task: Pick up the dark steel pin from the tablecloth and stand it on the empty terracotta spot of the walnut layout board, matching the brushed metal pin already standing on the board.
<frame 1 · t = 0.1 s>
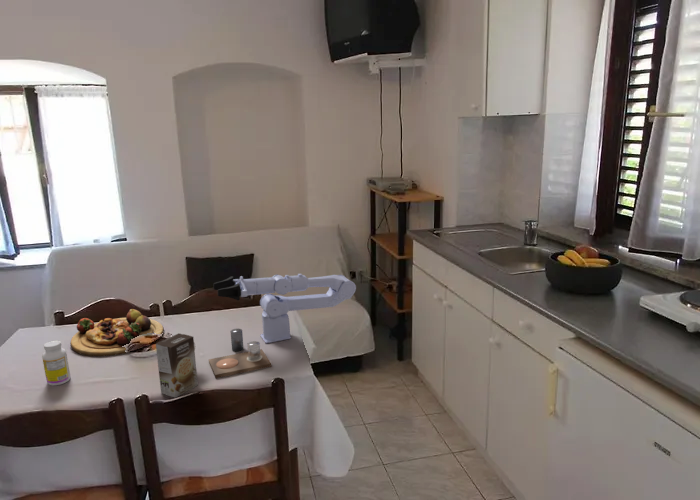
hand: (215, 289, 188), 22 cm above the table, tool horizontal, fingers open, 7 cm apart
wooden plate with food: (118, 339, 204), on the table
white ovoid with nub: (188, 370, 178), on the table
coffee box: (180, 389, 166), on the table
supplement bottle: (59, 381, 172), on the table
layout board: (239, 364, 180), on the table
steel pin: (237, 349, 192), on the table
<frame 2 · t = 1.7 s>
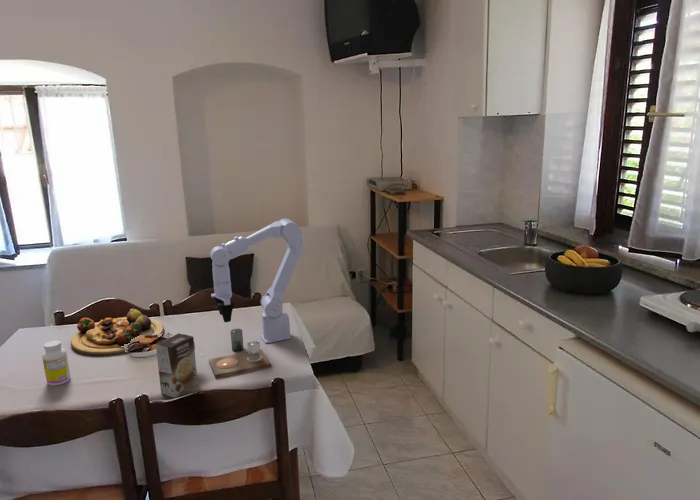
hand: (225, 317, 193), 10 cm above the table, tool pointing down, fingers open, 7 cm apart
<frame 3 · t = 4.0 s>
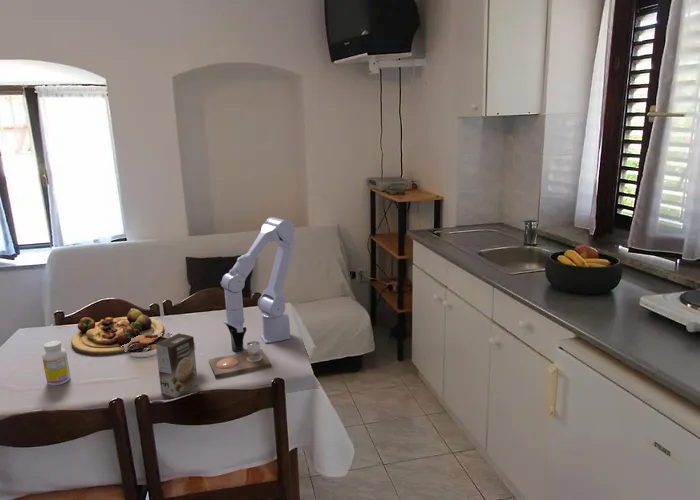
hand: (237, 344, 191), 2 cm above the table, tool pointing down, fingers closed on steel pin, 4 cm apart
steel pin: (237, 349, 192), on the table, touching gripper
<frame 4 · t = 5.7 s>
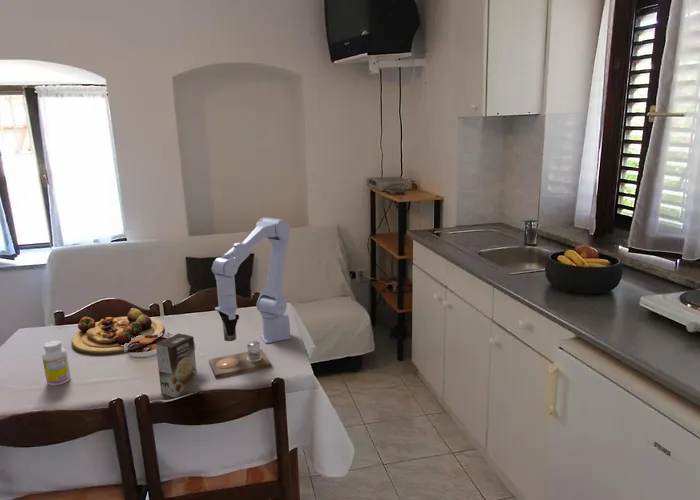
hand: (229, 332, 182), 10 cm above the table, tool pointing down, fingers closed on steel pin, 4 cm apart
steel pin: (230, 338, 183), point 7 cm above the table, touching gripper
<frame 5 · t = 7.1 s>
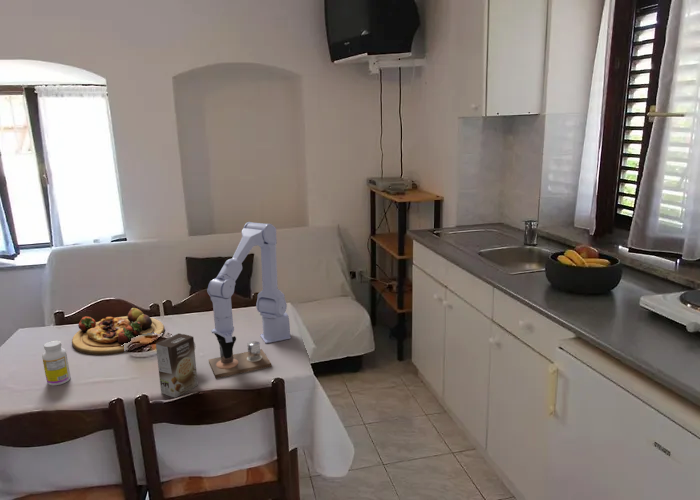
hand: (226, 354, 178), 4 cm above the table, tool pointing down, fingers closed on steel pin, 4 cm apart
steel pin: (227, 360, 178), point 2 cm above the table, touching gripper
when the fingers open (4 cm above the table, at t = 7.8 s): steel pin stays where it is, resting on layout board.
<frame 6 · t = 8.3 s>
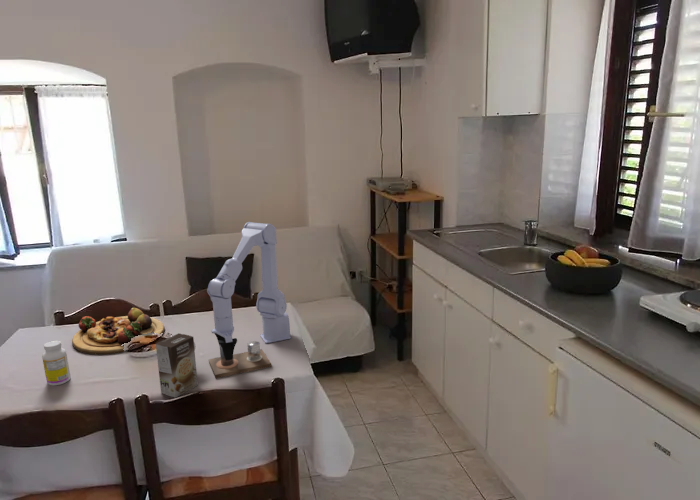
hand: (226, 354, 178), 4 cm above the table, tool pointing down, fingers open, 7 cm apart
steel pin: (227, 363, 178), point 1 cm above the table, touching layout board
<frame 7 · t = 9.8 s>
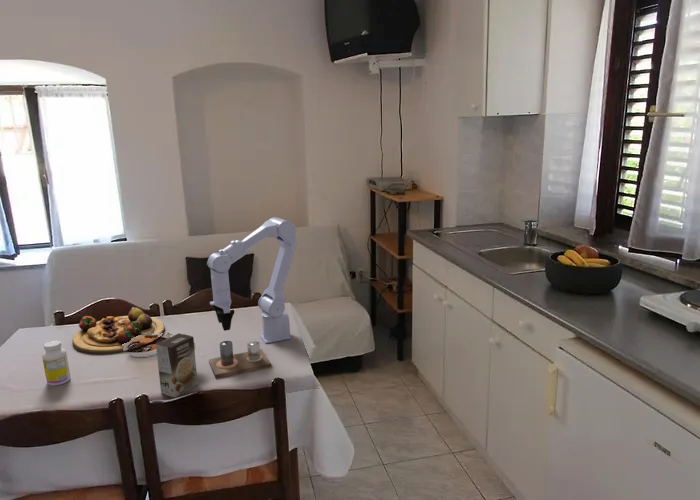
hand: (224, 326, 188), 9 cm above the table, tool pointing down, fingers open, 7 cm apart
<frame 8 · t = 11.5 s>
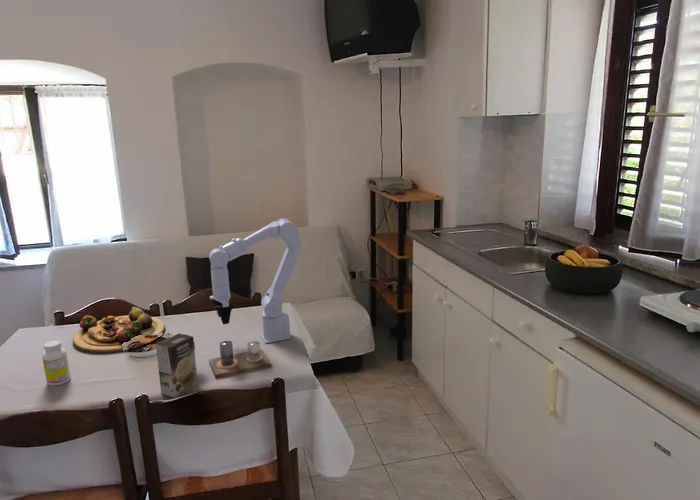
hand: (223, 319, 193), 9 cm above the table, tool pointing down, fingers open, 7 cm apart
at the end: steel pin 0.1 cm from the target spot on the layout board, point 1.4 cm above the layout board's base; steel pin tilted 0°; the gripper is holding nothing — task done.
